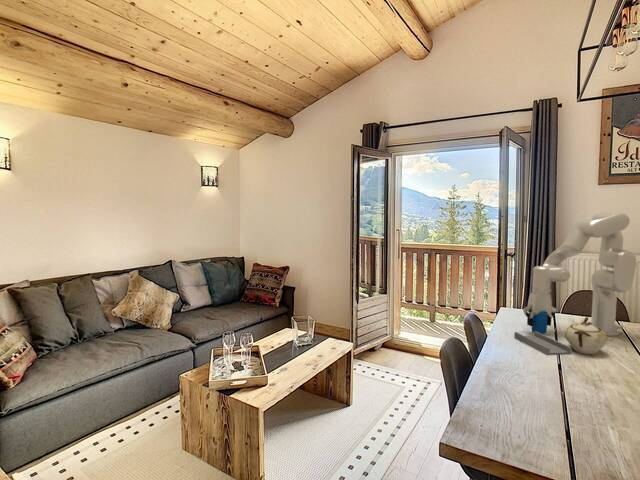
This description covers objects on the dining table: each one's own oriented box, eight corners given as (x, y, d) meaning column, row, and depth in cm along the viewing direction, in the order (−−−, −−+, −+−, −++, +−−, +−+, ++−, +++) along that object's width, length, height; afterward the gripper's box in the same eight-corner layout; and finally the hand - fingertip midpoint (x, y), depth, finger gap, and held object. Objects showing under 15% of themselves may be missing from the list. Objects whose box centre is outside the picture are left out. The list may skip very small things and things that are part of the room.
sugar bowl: (600, 361, 150) (603, 325, 149) (558, 351, 161) (559, 317, 160) (610, 349, 163) (612, 316, 162) (570, 341, 174) (571, 309, 173)
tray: (535, 336, 180) (535, 331, 180) (571, 353, 158) (571, 347, 158) (514, 337, 179) (514, 332, 179) (547, 355, 157) (547, 348, 157)
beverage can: (549, 335, 182) (550, 311, 181) (536, 335, 182) (537, 311, 182) (541, 331, 189) (542, 308, 188) (528, 331, 189) (529, 307, 188)
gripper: (551, 289, 189) (549, 322, 190) (519, 290, 187) (517, 323, 188) (562, 292, 181) (560, 327, 183) (529, 293, 179) (527, 328, 181)
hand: (538, 325), depth 185 cm, fingers open, 9 cm apart
